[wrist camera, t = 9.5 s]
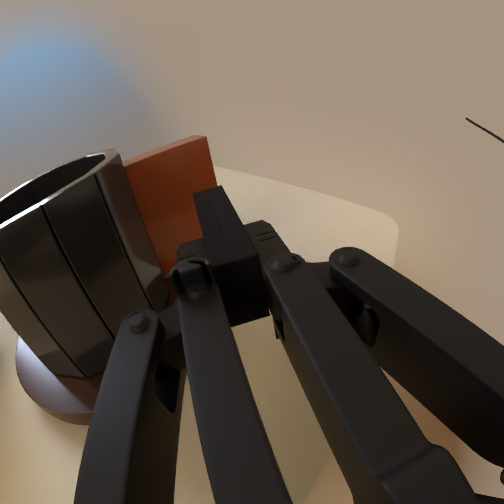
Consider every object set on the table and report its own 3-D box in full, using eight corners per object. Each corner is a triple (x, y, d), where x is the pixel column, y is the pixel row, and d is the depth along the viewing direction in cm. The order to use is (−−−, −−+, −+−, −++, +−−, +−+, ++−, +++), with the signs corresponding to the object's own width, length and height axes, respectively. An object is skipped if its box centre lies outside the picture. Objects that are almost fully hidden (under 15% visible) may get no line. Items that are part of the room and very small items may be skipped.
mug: (78, 262, 25) (38, 171, 19) (232, 238, 23) (206, 117, 18) (17, 369, 14) (-63, 257, 9) (223, 379, 13) (147, 188, 8)
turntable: (153, 241, 28) (149, 228, 28) (262, 326, 18) (258, 310, 17) (21, 321, 21) (13, 309, 20) (48, 466, 10) (32, 456, 9)
